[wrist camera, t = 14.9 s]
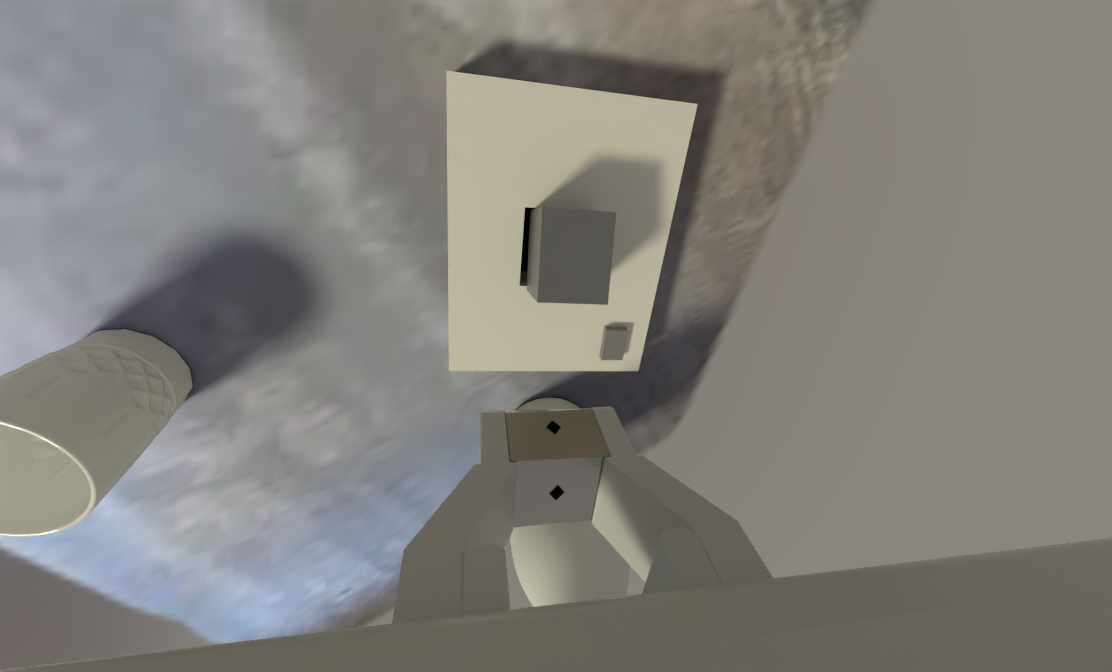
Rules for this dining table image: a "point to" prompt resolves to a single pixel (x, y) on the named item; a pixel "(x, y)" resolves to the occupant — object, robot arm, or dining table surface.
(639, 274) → the socket
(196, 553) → the dining table surface
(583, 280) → the plug
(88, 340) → the white cup
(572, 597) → the milk bottle
